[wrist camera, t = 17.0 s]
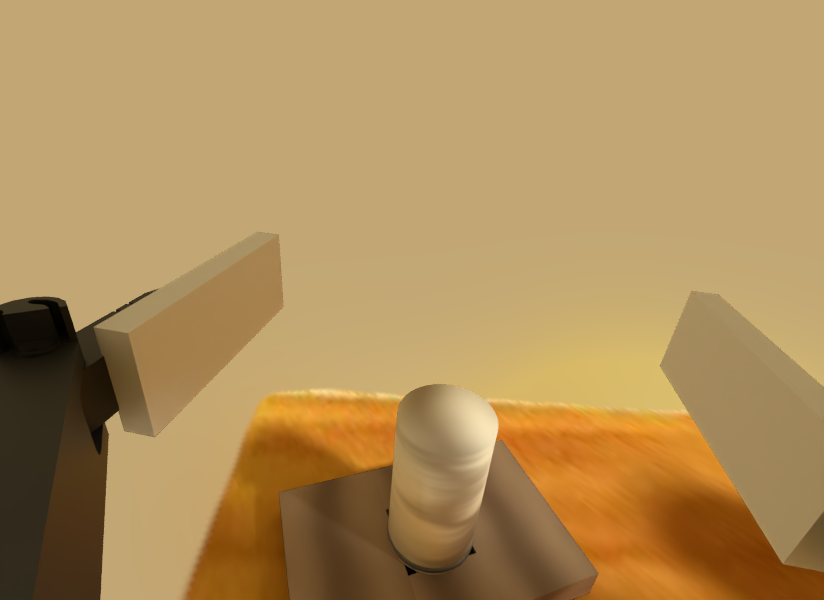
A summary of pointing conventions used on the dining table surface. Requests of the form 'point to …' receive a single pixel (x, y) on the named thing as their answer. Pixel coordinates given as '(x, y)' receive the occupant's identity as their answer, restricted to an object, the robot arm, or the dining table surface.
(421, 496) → the ash leg
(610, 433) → the dining table surface
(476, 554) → the walnut board
